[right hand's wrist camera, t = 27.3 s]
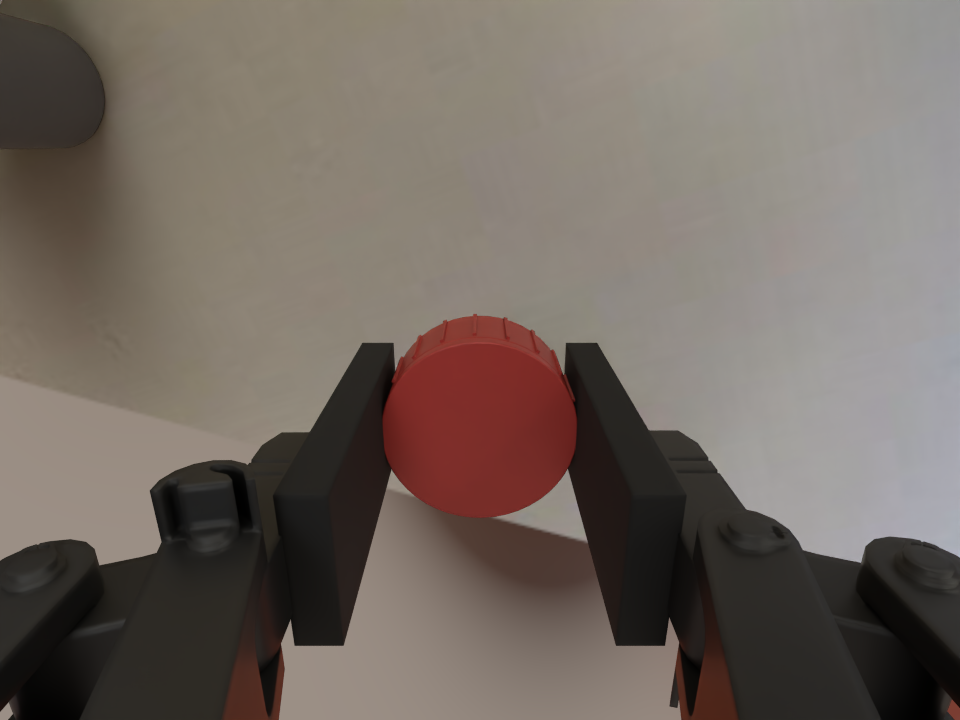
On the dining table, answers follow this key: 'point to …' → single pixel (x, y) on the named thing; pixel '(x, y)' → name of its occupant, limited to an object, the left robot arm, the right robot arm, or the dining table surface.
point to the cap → (479, 418)
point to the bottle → (45, 88)
